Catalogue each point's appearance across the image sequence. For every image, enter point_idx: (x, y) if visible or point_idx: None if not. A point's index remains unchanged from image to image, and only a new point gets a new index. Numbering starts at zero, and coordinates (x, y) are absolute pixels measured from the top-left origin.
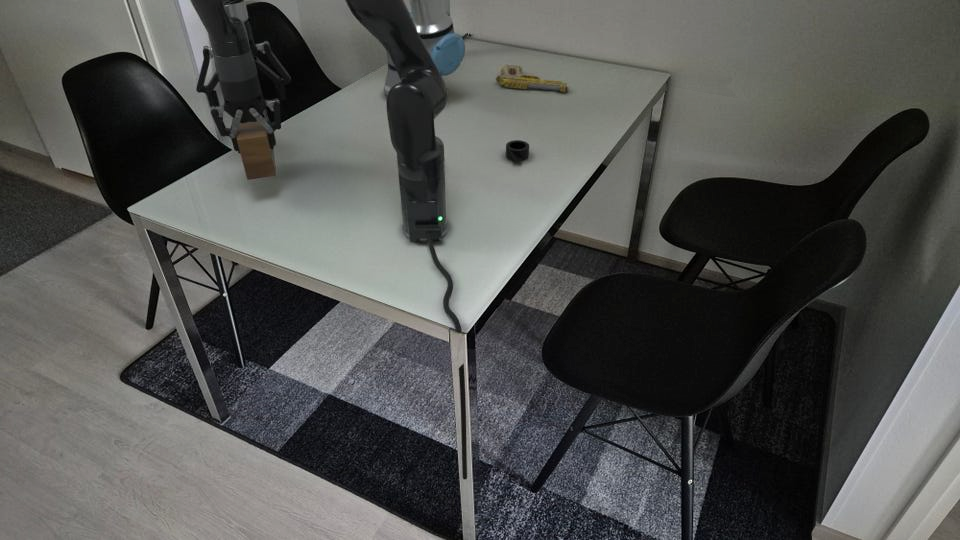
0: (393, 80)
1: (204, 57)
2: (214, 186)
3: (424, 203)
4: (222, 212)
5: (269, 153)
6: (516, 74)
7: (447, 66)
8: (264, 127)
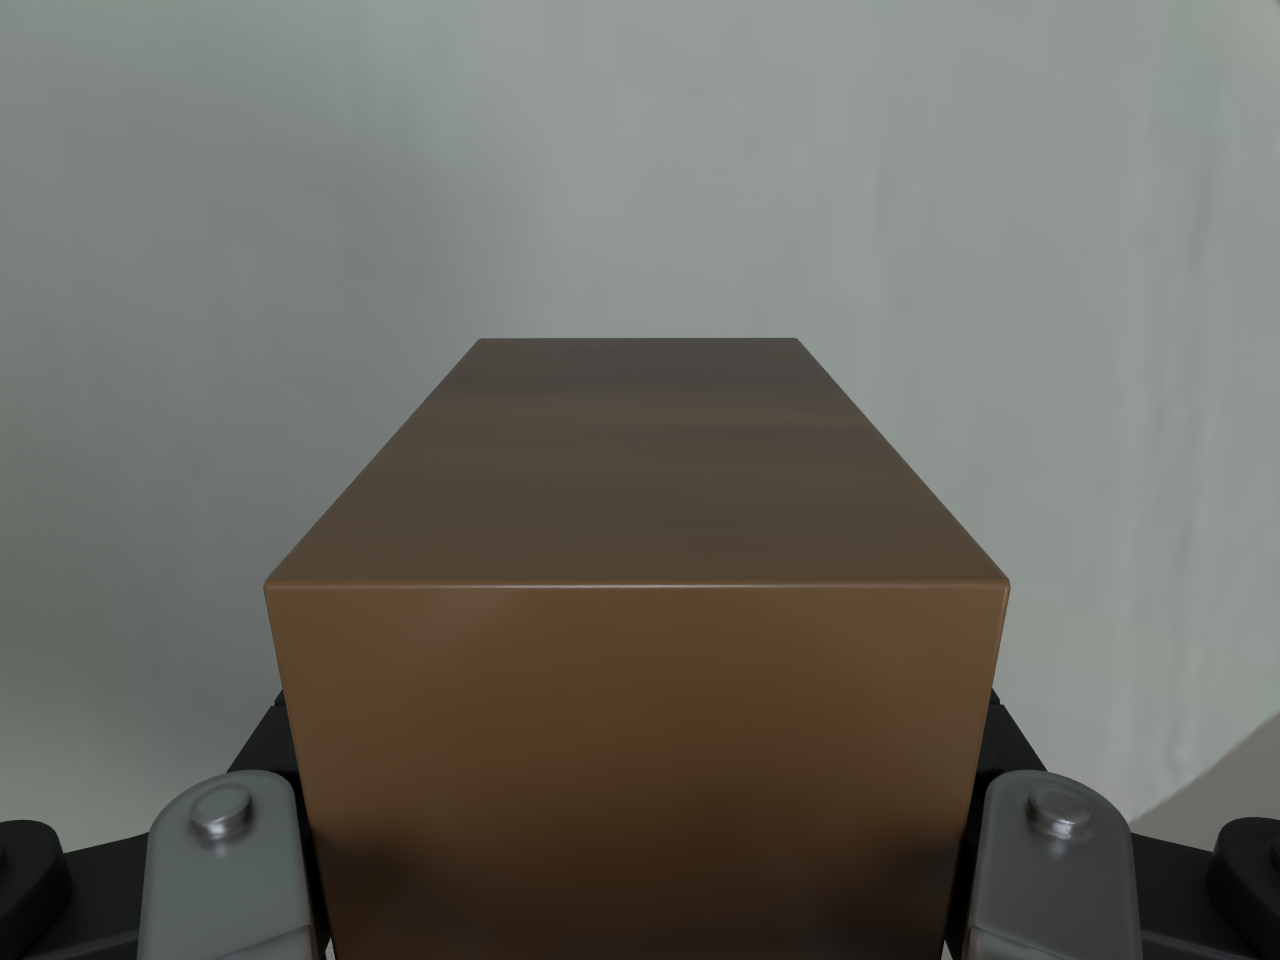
0: None
1: None
2: (1009, 670)
3: None
4: (1010, 273)
5: (422, 429)
6: None
7: None
8: (292, 896)
